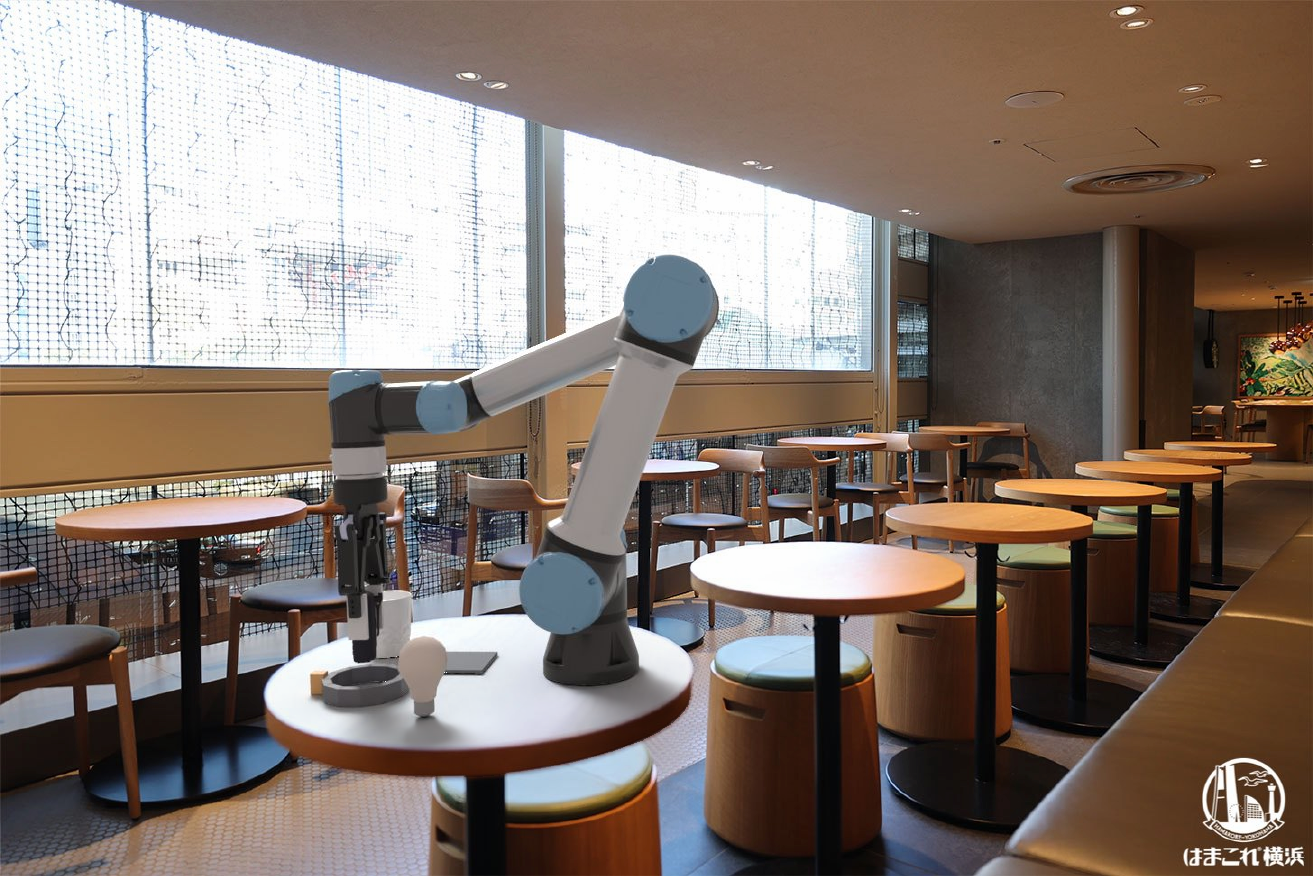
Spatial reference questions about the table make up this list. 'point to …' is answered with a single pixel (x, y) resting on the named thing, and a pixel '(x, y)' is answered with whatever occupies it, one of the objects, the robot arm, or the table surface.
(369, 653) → the two-way radio
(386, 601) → the white cup
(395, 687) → the dock collar
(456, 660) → the mat
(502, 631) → the table surface
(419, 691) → the light bulb
